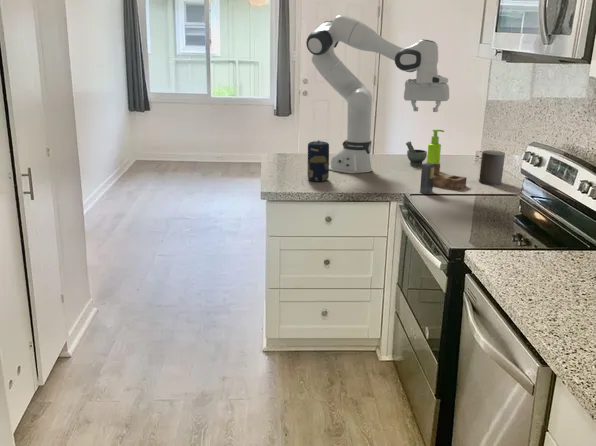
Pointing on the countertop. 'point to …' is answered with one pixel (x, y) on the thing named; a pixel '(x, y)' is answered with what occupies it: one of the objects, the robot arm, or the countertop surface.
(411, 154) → the mortar and pestle
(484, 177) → the pillar candle
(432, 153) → the soap dispenser
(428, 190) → the lever cap
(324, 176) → the canister
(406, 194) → the countertop surface
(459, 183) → the hand plane
